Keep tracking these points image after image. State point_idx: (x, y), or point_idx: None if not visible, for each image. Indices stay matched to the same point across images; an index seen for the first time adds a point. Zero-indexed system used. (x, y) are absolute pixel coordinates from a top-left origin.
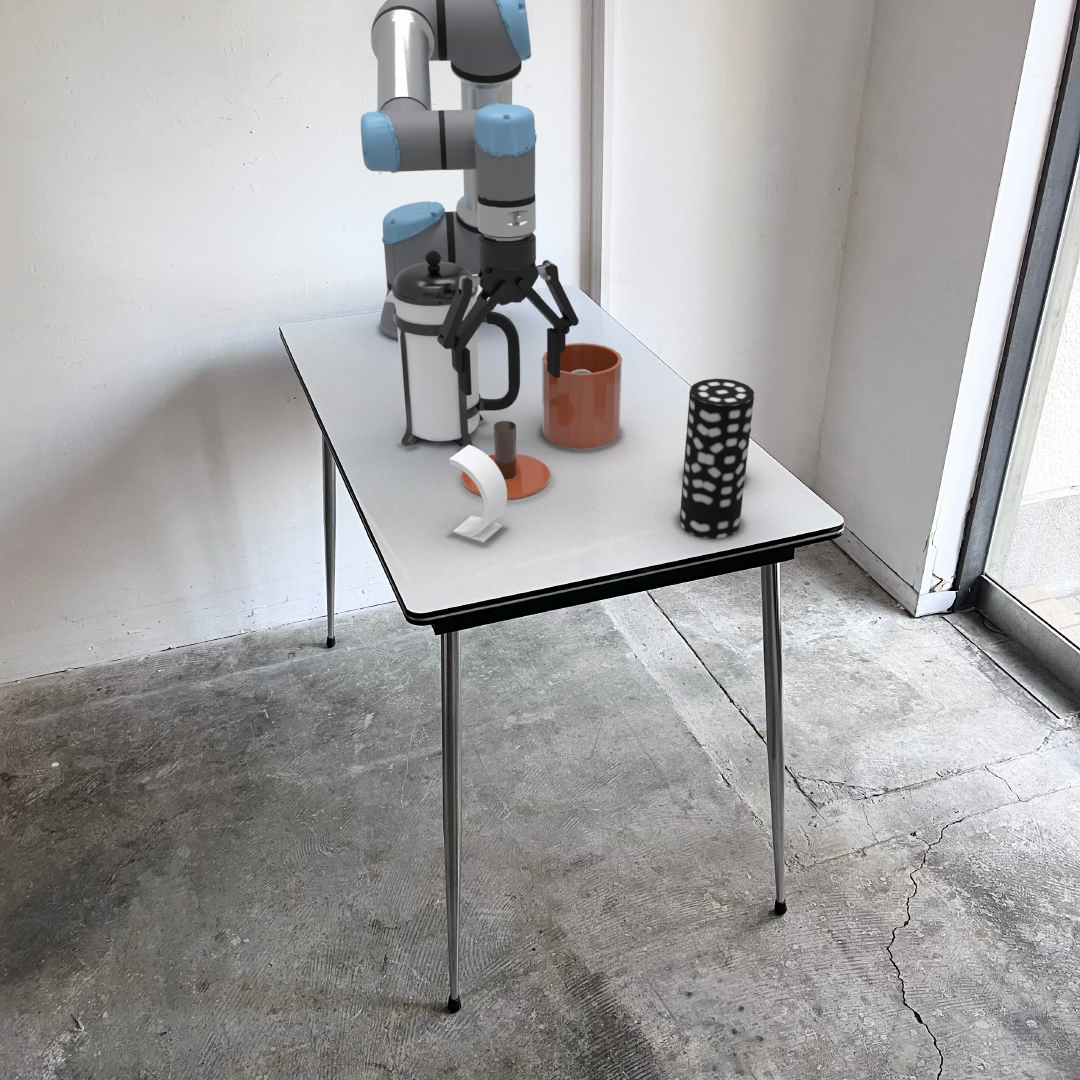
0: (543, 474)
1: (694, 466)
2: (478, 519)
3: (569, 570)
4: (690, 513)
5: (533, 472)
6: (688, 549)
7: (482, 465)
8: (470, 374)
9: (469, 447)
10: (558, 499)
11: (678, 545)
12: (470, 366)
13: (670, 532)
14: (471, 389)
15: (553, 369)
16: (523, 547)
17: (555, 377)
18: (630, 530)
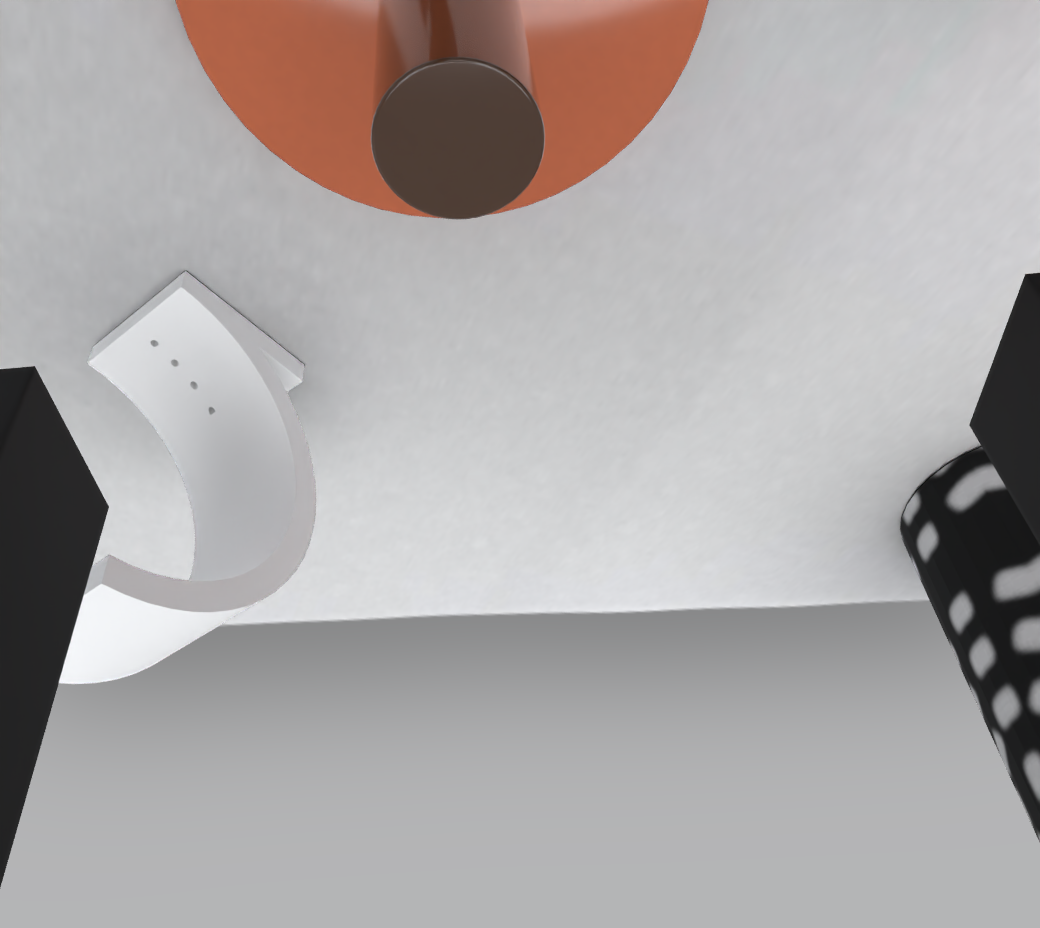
0: (648, 67)
1: (1003, 754)
2: (206, 339)
3: (461, 583)
4: (927, 589)
5: (607, 25)
6: (835, 581)
7: (177, 642)
8: (53, 682)
9: (105, 602)
10: (625, 228)
11: (825, 563)
12: (31, 774)
13: (856, 512)
14: (96, 547)
15: (1012, 447)
16: (358, 468)
17: (973, 427)
18: (751, 476)
